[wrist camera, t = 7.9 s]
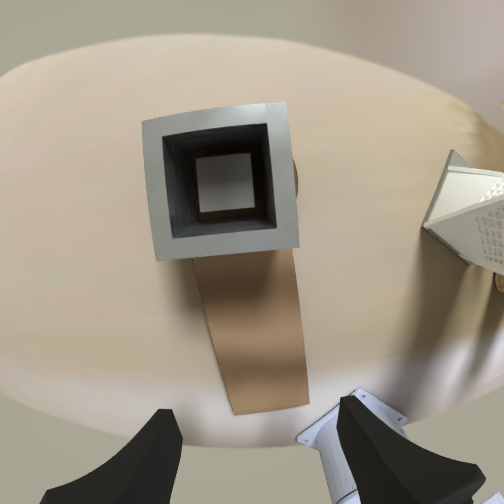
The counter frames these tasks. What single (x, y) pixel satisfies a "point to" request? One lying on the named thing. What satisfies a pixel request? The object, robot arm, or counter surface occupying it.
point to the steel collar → (183, 190)
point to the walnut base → (249, 292)
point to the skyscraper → (469, 213)
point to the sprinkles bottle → (499, 282)
